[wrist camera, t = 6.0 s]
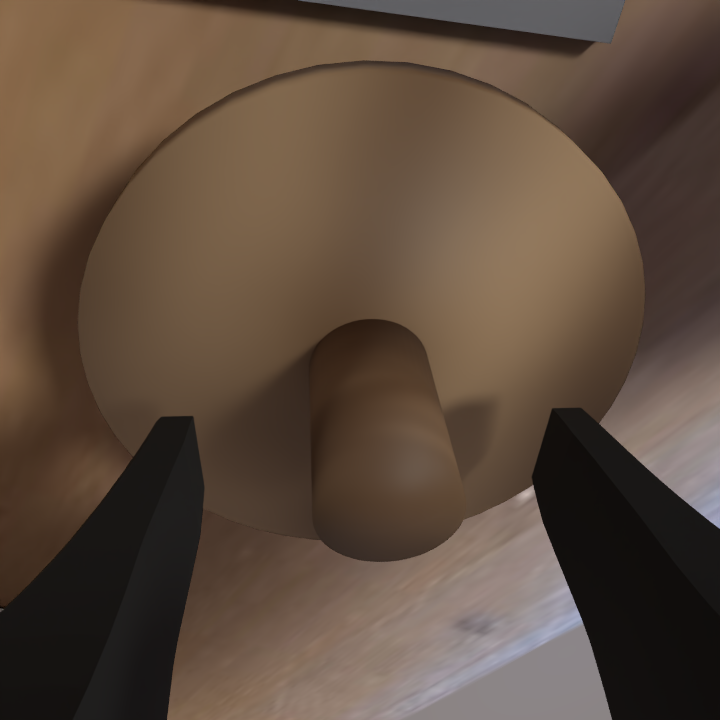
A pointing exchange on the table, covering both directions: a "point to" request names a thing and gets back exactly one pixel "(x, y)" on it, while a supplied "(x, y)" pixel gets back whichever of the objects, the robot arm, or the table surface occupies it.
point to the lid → (362, 300)
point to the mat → (510, 14)
